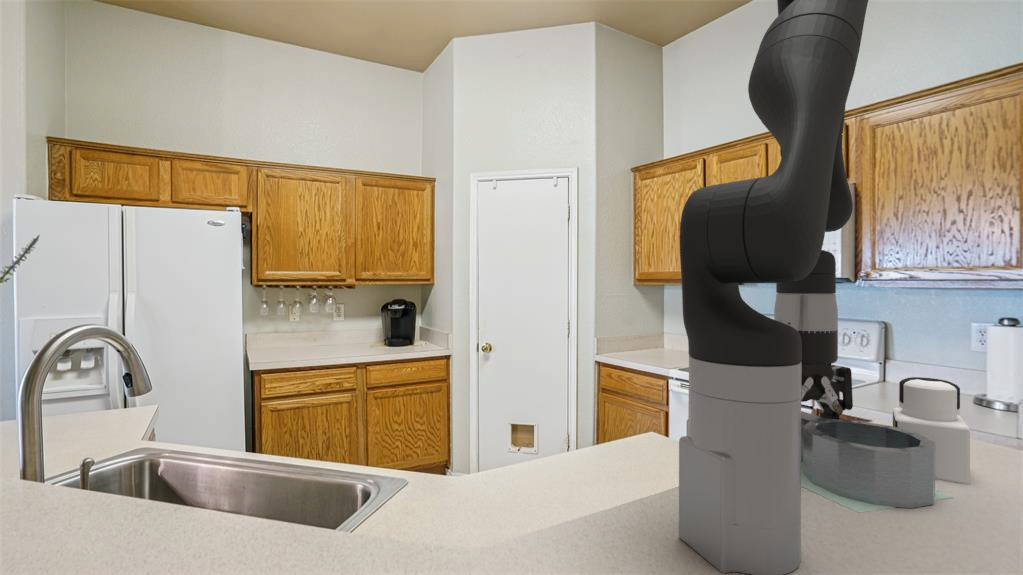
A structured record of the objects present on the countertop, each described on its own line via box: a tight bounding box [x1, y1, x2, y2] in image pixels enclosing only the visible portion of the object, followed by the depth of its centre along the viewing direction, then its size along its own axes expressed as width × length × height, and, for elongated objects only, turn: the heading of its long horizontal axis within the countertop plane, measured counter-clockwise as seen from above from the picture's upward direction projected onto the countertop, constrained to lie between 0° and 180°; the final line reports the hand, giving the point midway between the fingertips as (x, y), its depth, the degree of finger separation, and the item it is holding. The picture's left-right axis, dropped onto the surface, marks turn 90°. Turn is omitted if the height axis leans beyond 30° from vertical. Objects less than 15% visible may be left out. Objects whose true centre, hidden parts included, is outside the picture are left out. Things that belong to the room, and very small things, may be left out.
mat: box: [801, 462, 954, 514], centre depth 61 cm, size 14×17×1 cm
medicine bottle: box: [892, 376, 971, 485], centre depth 64 cm, size 7×7×12 cm
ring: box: [801, 410, 936, 509], centre depth 61 cm, size 12×18×6 cm
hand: (804, 443), depth 67 cm, fingers open, 8 cm apart
